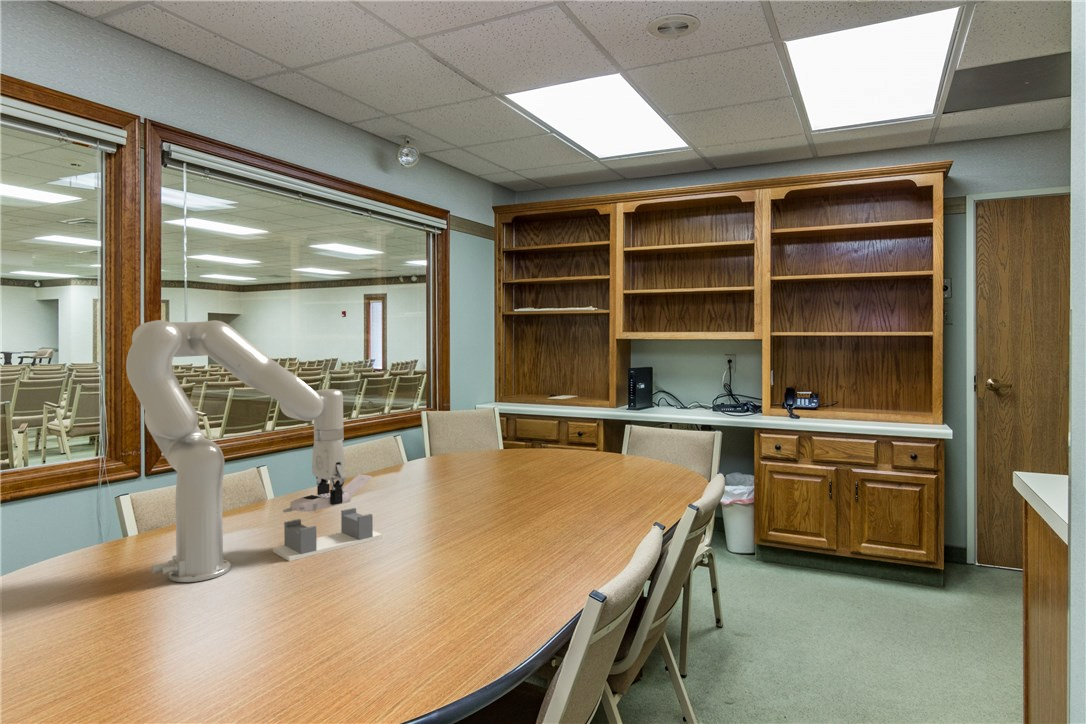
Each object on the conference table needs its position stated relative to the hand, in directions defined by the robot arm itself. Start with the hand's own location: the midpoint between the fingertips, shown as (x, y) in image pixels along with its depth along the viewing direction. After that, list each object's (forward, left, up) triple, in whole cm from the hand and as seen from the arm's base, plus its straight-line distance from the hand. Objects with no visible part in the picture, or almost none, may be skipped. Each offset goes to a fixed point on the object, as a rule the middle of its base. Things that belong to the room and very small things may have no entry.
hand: (329, 501), depth 163 cm
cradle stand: (0, 0, -12) cm, 12 cm away
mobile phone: (0, 0, -1) cm, 1 cm away
